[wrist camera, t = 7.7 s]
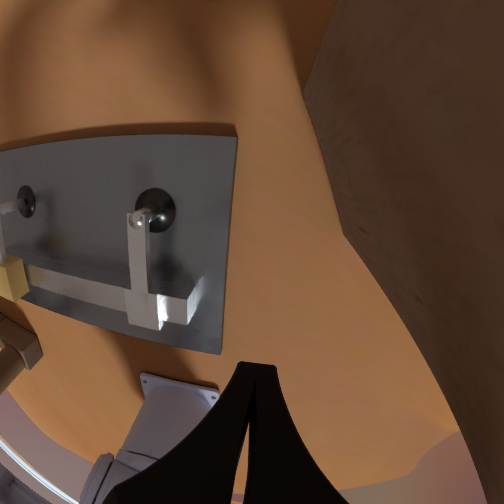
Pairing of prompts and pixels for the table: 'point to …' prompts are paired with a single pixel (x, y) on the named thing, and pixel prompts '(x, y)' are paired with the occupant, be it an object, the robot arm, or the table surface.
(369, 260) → the wooden block
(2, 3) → the table surface
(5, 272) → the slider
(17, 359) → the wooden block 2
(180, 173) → the hole plate
